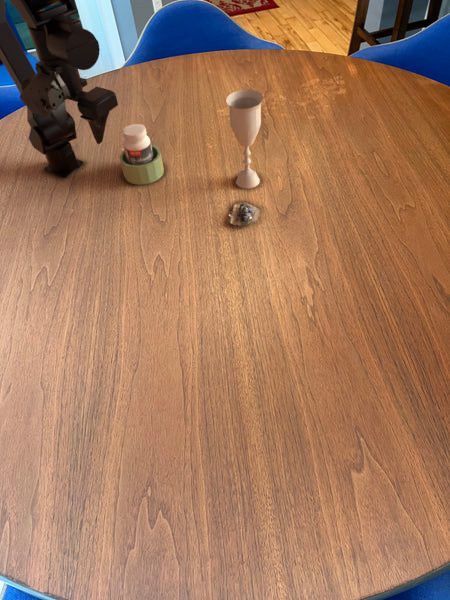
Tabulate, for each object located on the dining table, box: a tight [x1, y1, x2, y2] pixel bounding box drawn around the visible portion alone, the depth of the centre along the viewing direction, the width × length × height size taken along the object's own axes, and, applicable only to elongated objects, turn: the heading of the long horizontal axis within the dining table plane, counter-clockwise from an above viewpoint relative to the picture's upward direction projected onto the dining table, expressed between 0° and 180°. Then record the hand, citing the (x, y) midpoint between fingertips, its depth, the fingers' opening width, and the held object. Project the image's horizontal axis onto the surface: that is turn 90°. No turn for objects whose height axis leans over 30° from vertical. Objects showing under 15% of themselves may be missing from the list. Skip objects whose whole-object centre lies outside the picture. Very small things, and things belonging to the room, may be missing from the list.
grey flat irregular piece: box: [227, 202, 261, 227], centre depth 93 cm, size 7×8×2 cm
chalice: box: [225, 89, 264, 190], centre depth 94 cm, size 7×7×18 cm
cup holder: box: [119, 144, 165, 186], centre depth 104 cm, size 9×9×4 cm
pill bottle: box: [122, 123, 154, 165], centre depth 102 cm, size 6×6×10 cm
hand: (82, 137), depth 92 cm, fingers open, 9 cm apart
